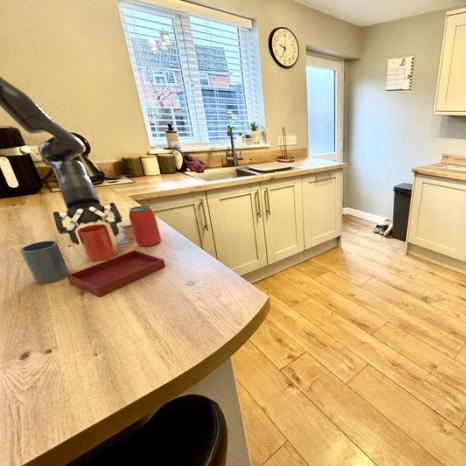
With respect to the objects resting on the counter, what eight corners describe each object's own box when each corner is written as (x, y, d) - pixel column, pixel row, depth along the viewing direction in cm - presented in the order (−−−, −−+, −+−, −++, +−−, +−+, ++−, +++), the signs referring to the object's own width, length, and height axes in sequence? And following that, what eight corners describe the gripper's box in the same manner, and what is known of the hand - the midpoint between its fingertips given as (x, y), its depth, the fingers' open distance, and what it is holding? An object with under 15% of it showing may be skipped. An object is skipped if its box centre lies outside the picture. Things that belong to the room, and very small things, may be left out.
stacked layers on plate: (151, 237, 98) (147, 222, 96) (119, 244, 93) (113, 228, 91) (147, 229, 105) (143, 215, 103) (117, 235, 100) (112, 220, 98)
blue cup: (44, 286, 71) (29, 253, 67) (30, 280, 73) (14, 248, 69) (75, 274, 76) (63, 243, 73) (61, 269, 78) (48, 238, 75)
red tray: (99, 297, 67) (96, 288, 66) (70, 283, 72) (66, 275, 71) (165, 266, 80) (163, 259, 79) (136, 257, 85) (134, 249, 84)
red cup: (96, 263, 81) (85, 234, 78) (83, 258, 84) (72, 230, 80) (120, 254, 87) (111, 226, 83) (107, 250, 89) (98, 222, 86)
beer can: (165, 242, 95) (156, 207, 91) (143, 249, 90) (132, 212, 86) (155, 237, 99) (146, 203, 94) (134, 243, 94) (123, 208, 89)
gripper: (110, 195, 93) (128, 238, 90) (49, 204, 84) (66, 252, 81) (107, 181, 87) (126, 226, 85) (42, 189, 78) (60, 240, 75)
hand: (97, 239), depth 83 cm, fingers open, 8 cm apart
